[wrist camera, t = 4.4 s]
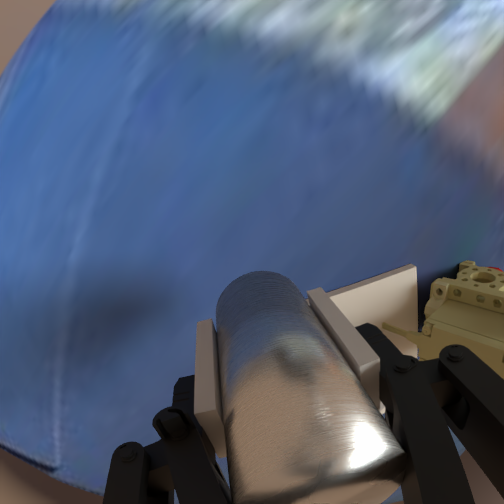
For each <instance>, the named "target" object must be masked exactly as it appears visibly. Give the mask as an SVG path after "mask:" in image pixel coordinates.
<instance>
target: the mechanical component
mask: <svg viewBox="0 0 504 504" xmlns="http://www.w3.org/2000/svg"><path fill="white" fill-rule="evenodd" d="M424 313H425V316H426V320H425V321H424V326H423V327H422V332H421V333H420V332H415V331H410V330H409V331H406V330H403V329H401V328H398V327H395V326H393V325H390V324H387V323H385V322H383V323H382V326H383V327H382V328H383V329H385V330H388V331H390V332H393V333H395V334H398V335H401V336H403V337H406V339H407V340H409V341H411V342H412V343H414V344H416V345H417V348H419V354H418V356H420V359H419V361H426V360H431V359H436V358H439V353H440V351H441V350H442V349H443V348H444V347H446V346H448V345H451V344H459V345H463V346H465V347H467V348H468V349H470V350H471V351H472V352H473V353H474V354H475V355H477V356H478V357H479V358H480V359H481V360H482V361H483V362H485V363H486V364H487V365H488V366H489V367H490V368H491V369H493V370H494V371H495V372H496V373H497V374H498V375H499V376H500V377H501V378H503V379H504V272H503V271H502V270H500V269H499V268H495V267H478V266H476V265H475V262H473V261H468V260H467V261H464V262H461V263H460V264H459V273H457V279H455V280H454V279H449V278H445V277H443V278H442V279H441V278H438V279H436V280H435V281H434V282H433V283H432V284H431V291H430V299H429V301H428V302H427V304H426V306H425V311H424Z"/></svg>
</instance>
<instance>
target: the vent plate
mask: <svg viewBox="0 0 504 504" xmlns="http://www.w3.org/2000/svg"><path fill="white" fill-rule="evenodd" d="M326 294H327V295H328V296H329V297H330V299H331V300H332V301H333V302H334V303H335V305H336V306H337V307H338V308H339V309H340V311H341V312H342V313H343V314H344V315H345V317H346V318H347V319H348V320H349V321H350V323H351V324H352V325H353V326H354V327H357V326H359V325H362V324H365V323H370V324H372V325H375V326H377V327H378V328H379V329H380V330H381V331H382V332H383V334H384V335H385V336H386V337H387V339H389V340H390V341H391V342H392V343H393V344H394V345H395V346H396V347H397V348H398V349H399V351H400V352H401V353H402V354H403V355H410V356H413V357H415V358H417V345H416V344H414V343H412V342H411V341H409V340H407V339H406V337H403V336H401V335H398V334H395V333H393V332H390V331H388V330H385V329H383V328H382V327H383V326H382V323H383V322H385V323H387V324H390V325H393V326H395V327H398V328H401V329H403V330H406V331H409V330H410V331H415V332H418V296H417V272H416V266H414V265H412V264H408V265H406V266H403V267H400V268H397V269H395V270H392V271H389V272H386V273H383V274H380V275H378V276H375V277H372V278H369V279H366V280H363V281H360V282H357V283H354V284H351V285H348V286H345V287H342V288H339V289H336V290H333V291H330V292H327V293H326ZM305 300H306V301H307V303H308V304H309V300H308V299H305ZM309 306H310V305H309ZM379 411H380V413H381V414H383V413H385V406H384V405H383V403H382V402H381V400H380V410H379Z"/></svg>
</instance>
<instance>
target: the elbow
mask: <svg viewBox="0 0 504 504" xmlns="http://www.w3.org/2000/svg"><path fill="white" fill-rule="evenodd" d="M216 328H217V344H218V359H219V373H220V386H221V399H222V411H223V422H224V433H225V444H226V454H227V464H228V473H229V482H230V491H231V500H232V504H380V503H382V502H383V501H384V500H386V499H387V498H388V497H389V496H390V495H391V494H392V493H393V492H394V491H396V489H397V488H398V487H399V486H400V485H401V484H402V481H403V477H404V473H405V469H406V464H407V459H408V455H407V454H406V452H405V450H404V449H403V447H402V446H401V444H400V443H399V441H398V439H397V438H396V436H395V435H394V433H393V432H392V430H391V429H390V427H389V425H388V424H387V422H386V421H385V419H384V418H383V416H382V415H381V413H380V411H379V410H378V408H377V407H376V405H375V404H374V402H373V401H372V399H371V398H370V396H369V395H368V393H367V391H366V390H365V388H364V387H363V385H362V384H361V382H360V381H359V379H358V378H357V376H356V375H355V373H354V372H353V370H352V369H351V367H350V366H349V364H348V363H347V361H346V359H345V358H344V356H343V355H342V353H341V352H340V350H339V349H338V347H337V346H336V344H335V343H334V341H333V340H332V338H331V337H330V335H329V334H328V332H327V331H326V329H325V328H324V326H323V325H322V323H321V322H320V320H319V319H318V317H317V316H316V314H315V313H314V311H313V310H312V309H311V307H310V306H309V304H308V303H307V301H306V300H305V298H304V297H303V295H302V294H301V292H300V291H299V289H298V288H297V286H296V285H295V284H294V283H293V282H292V281H291V280H290V279H288V278H287V277H285V276H283V275H281V274H279V273H275V272H270V271H255V272H251V273H247V274H244V275H242V276H240V277H238V278H237V279H235V280H234V281H232V282H231V283H230V284H229V285H228V286H227V287H226V288H225V289H224V291H223V292H222V293H221V295H220V297H219V299H218V302H217V306H216Z"/></svg>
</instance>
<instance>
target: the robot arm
mask: <svg viewBox="0 0 504 504" xmlns="http://www.w3.org/2000/svg"><path fill="white" fill-rule="evenodd" d="M307 295H308V300H309V305H310V307H311V309H312V310H313V311H314V313H315V314H316V316H317V317H318V319H319V320H320V322H321V323H322V325H323V326H324V328H325V329H326V331H327V332H328V334H329V335H330V337H331V338H332V340H333V341H334V343H335V344H336V346H337V347H338V349H339V350H340V352H341V353H342V355H343V356H344V358H345V359H346V361H347V363H348V364H349V366H350V367H351V369H352V370H353V372H354V373H355V375H356V376H357V378H358V379H359V381H360V382H361V384H362V385H363V387H364V388H365V390H366V391H367V393H368V395H369V396H370V398H371V399H372V401H373V402H374V404H375V405H376V407H377V408H378V410H380V400H381V402H382V403H383V405H384V406H385V421H386V422H387V424H388V425H389V427H390V429H391V430H392V432H393V433H394V435H395V436H396V438H397V439H398V441H399V443H400V444H401V446H402V447H403V449H404V450H405V452H406V454H407V455H408V459H407V464H406V469H405V473H404V477H403V481H402V484H401V489H402V494H403V500H404V504H475V502H474V499H473V495H472V492H471V489H470V486H469V483H468V480H467V477H466V474H465V471H464V468H463V465H462V462H461V460H460V457H459V454H458V451H457V449H456V446H455V443H454V441H453V438H452V436H451V433H450V430H449V428H450V429H451V430H452V431H453V433H454V434H455V435H456V437H457V438H458V439H459V440H460V442H461V443H462V444H463V445H464V447H465V448H466V449H467V451H468V452H469V453H470V455H471V456H472V457H473V458H474V460H475V461H476V462H477V464H478V465H479V466H480V468H481V469H482V470H483V472H484V473H485V474H486V476H487V477H488V478H489V480H490V481H491V482H492V484H493V485H494V486H495V488H496V489H497V491H498V492H499V493H500V495H501V496H502V497H503V499H504V379H503V378H501V377H500V376H499V375H498V374H497V373H496V372H495V371H494V370H493V369H491V368H490V367H489V366H488V365H487V364H486V363H485V362H483V361H482V360H481V359H480V358H479V357H478V356H477V355H475V354H474V353H473V352H472V351H471V350H470V349H468V348H467V347H465V346H463V345H459V344H451V345H448V346H446V347H444V348H443V349H442V350H441V351H440V353H439V358H436V359H431V360H426V361H418V359H417V358H415V357H413V356H410V355H403V354H402V353H401V352H400V351H399V349H398V348H397V347H396V346H395V345H394V344H393V343H392V342H391V341H390V340H389V339H387V337H386V336H385V335H384V334H383V332H382V331H381V330H380V329H379V328H378V327H377V326H375V325H372V324H370V323H365V324H362V325H359V326H357V327H354V326H353V325H352V324H351V323H350V321H349V320H348V319H347V318H346V317H345V315H344V314H343V313H342V312H341V311H340V309H339V308H338V307H337V306H336V305H335V303H334V302H333V301H332V300H331V299H330V297H329V296H328V295H327V294H326V293H325V292H324V290H323V289H322V288H321V287H320V288H316V289H313V290H310V291H307ZM173 395H174V396H173V403H172V406H171V407H167V408H165V409H163V410H161V411H160V412H158V413H157V414H156V415H155V417H154V419H153V424H152V425H153V427H154V428H155V430H156V431H157V433H158V434H159V436H160V437H161V440H159V441H157V442H155V443H153V444H150V445H148V446H145V447H142V445H141V444H139V443H137V442H127V443H124V444H122V445H120V446H119V447H118V448H117V449H116V450H115V451H114V453H113V455H112V459H111V464H110V469H109V474H108V478H107V484H106V489H105V494H104V499H103V504H174V489H175V490H176V493H177V497H178V500H179V503H180V504H232V500H231V491H230V489H229V486H228V484H227V482H226V480H225V478H224V476H223V473H222V471H221V469H220V467H219V465H218V463H217V462H216V458H215V452H216V454H217V455H218V457H219V458H222V457H227V454H226V444H225V433H224V422H223V411H222V399H221V386H220V373H219V359H218V344H217V332H216V330H215V327H214V324H213V321H212V319H208V320H204V321H200V322H197V336H196V359H195V375H191V376H186V377H182V378H179V379H178V381H177V383H176V384H175V386H174V392H173ZM448 426H449V428H448Z"/></svg>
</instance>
